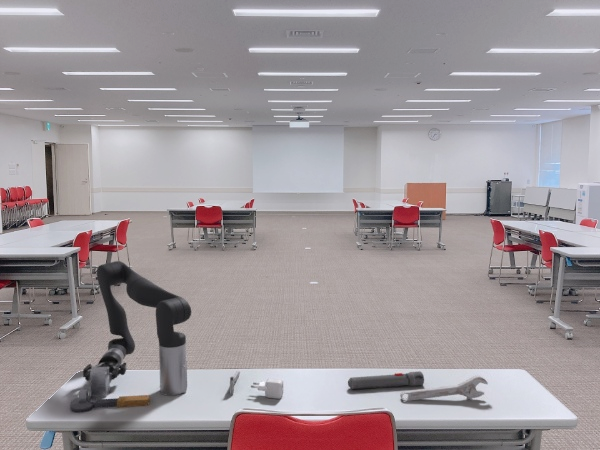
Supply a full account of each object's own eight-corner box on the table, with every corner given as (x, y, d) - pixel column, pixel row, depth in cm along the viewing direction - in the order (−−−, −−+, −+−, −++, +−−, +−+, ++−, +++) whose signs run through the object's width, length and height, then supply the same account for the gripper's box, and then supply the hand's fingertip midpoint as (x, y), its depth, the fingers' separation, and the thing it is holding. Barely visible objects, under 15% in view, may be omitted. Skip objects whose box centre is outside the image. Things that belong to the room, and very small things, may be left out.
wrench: (401, 406, 167) (487, 396, 167) (402, 409, 165) (489, 399, 165) (399, 384, 166) (485, 374, 166) (400, 386, 164) (487, 376, 164)
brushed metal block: (109, 391, 172) (108, 366, 171) (106, 397, 167) (105, 372, 166) (95, 391, 171) (94, 367, 170) (91, 398, 166) (90, 372, 165)
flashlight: (346, 387, 176) (346, 374, 176) (418, 382, 181) (419, 369, 181) (350, 393, 171) (350, 379, 171) (424, 387, 176) (424, 374, 176)
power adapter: (249, 397, 167) (249, 380, 167) (254, 391, 172) (254, 375, 172) (280, 400, 165) (280, 384, 164) (284, 394, 169) (284, 378, 169)
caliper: (233, 396, 169) (232, 378, 168) (229, 396, 169) (229, 378, 168) (239, 373, 189) (239, 357, 188) (237, 373, 189) (236, 357, 188)
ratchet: (151, 397, 167) (150, 382, 166) (147, 408, 159) (146, 392, 158) (74, 402, 163) (74, 386, 163) (67, 413, 155) (66, 396, 155)
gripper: (91, 352, 183) (78, 368, 167) (130, 350, 185) (120, 366, 169) (92, 371, 184) (79, 389, 168) (131, 369, 186) (121, 386, 170)
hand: (100, 377), depth 169 cm, fingers open, 8 cm apart
